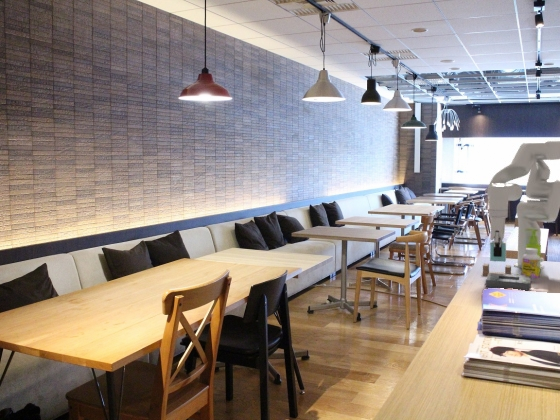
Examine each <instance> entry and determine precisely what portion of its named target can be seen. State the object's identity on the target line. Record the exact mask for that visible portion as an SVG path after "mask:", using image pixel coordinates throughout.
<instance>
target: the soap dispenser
mask: <svg viewBox="0 0 560 420" xmlns="http://www.w3.org/2000/svg"><path fill="white" fill-rule="evenodd" d="M524 231H532V236H531V237H530V239H529V244H526V248H535V249H538V252H537V255H539V257H540V259H541V258H542V256H541V254H542V253H541V252H542V245H541V244H540V245H539V244H538V237H537V236H536V232H537V231H538V230H536V229H526V230H524ZM539 274H541V269H540V267H539Z"/></svg>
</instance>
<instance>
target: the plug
mask: <svg viewBox="0 0 560 420" xmlns="http://www.w3.org/2000/svg"><path fill="white" fill-rule="evenodd" d="M499 243H500V242H499ZM489 244H490V246H489V253H490V254H489V261H490V262H506V260H507V241H503V240H502V241H501V247H502V256H501V257H494V240H490V242H489Z"/></svg>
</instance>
